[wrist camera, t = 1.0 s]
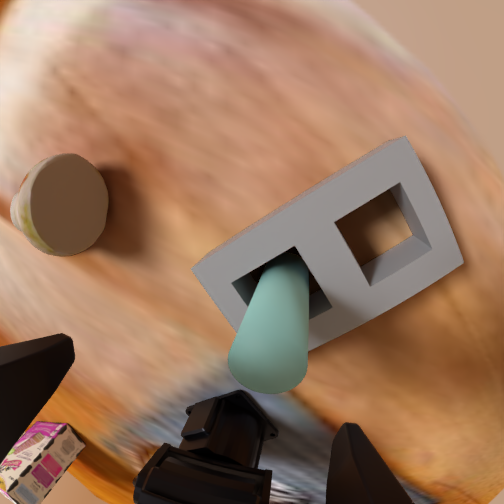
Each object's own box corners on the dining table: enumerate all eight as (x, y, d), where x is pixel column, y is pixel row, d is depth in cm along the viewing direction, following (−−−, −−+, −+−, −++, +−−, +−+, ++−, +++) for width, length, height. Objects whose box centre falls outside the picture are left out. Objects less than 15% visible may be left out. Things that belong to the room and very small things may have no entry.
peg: (317, 281, 20) (321, 376, 11) (279, 302, 21) (255, 402, 12) (293, 244, 20) (280, 317, 10) (255, 266, 21) (212, 350, 11)
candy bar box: (66, 420, 32) (5, 492, 16) (87, 444, 33) (33, 517, 17) (35, 418, 35) (-18, 475, 19) (53, 440, 36) (5, 498, 20)
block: (441, 247, 18) (464, 262, 15) (271, 341, 22) (265, 370, 19) (388, 140, 17) (405, 135, 13) (208, 252, 21) (190, 268, 18)
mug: (28, 174, 22) (-22, 149, 13) (120, 174, 25) (102, 142, 16) (23, 253, 23) (-32, 261, 13) (115, 257, 26) (92, 267, 16)
